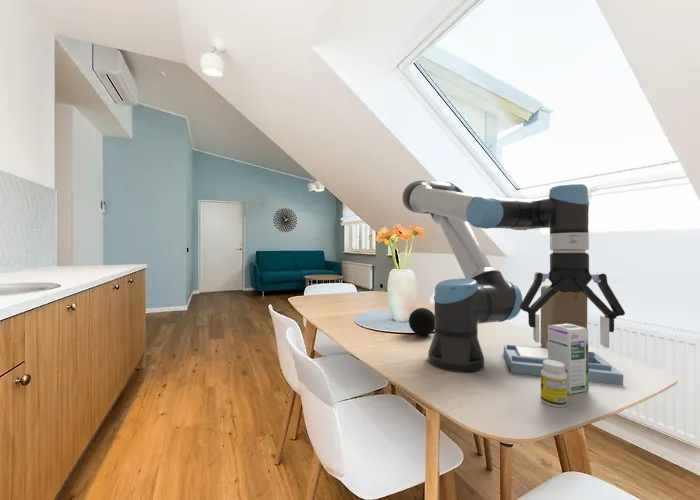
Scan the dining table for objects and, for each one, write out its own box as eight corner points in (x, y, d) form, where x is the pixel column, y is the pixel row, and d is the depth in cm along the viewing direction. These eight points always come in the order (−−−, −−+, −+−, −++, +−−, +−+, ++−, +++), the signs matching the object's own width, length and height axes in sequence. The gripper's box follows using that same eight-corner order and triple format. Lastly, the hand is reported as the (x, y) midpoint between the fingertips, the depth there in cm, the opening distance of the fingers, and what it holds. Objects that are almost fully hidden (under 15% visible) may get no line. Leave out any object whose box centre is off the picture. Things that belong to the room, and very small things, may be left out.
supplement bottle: (543, 394, 72) (543, 357, 72) (568, 401, 69) (568, 362, 69) (538, 402, 69) (538, 363, 69) (564, 410, 66) (565, 368, 66)
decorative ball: (440, 338, 117) (440, 310, 116) (413, 339, 115) (414, 311, 115) (430, 331, 127) (430, 305, 126) (405, 332, 125) (405, 306, 125)
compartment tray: (511, 372, 85) (511, 359, 85) (503, 353, 100) (503, 342, 100) (623, 384, 77) (623, 370, 77) (596, 362, 93) (596, 349, 93)
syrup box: (569, 395, 72) (570, 329, 72) (547, 384, 78) (547, 323, 78) (589, 391, 74) (589, 328, 74) (565, 381, 80) (565, 322, 79)
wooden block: (588, 356, 97) (589, 290, 97) (551, 354, 99) (552, 289, 99) (572, 346, 107) (573, 285, 107) (539, 344, 109) (539, 285, 109)
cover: (520, 359, 88) (520, 348, 87) (515, 349, 96) (515, 339, 96) (561, 363, 84) (561, 352, 84) (552, 352, 93) (552, 342, 93)
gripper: (511, 252, 76) (512, 343, 76) (644, 251, 68) (644, 353, 68) (507, 252, 83) (508, 335, 83) (626, 251, 75) (627, 343, 75)
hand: (569, 343), depth 75 cm, fingers open, 13 cm apart
